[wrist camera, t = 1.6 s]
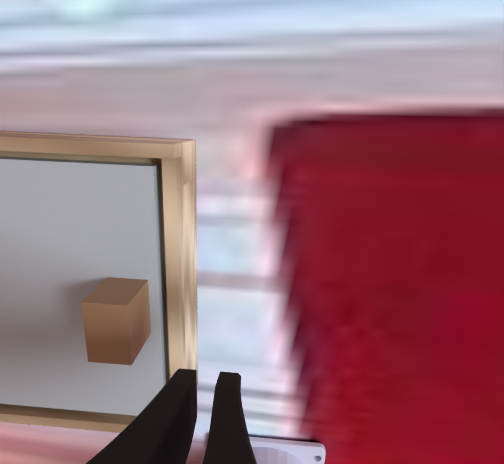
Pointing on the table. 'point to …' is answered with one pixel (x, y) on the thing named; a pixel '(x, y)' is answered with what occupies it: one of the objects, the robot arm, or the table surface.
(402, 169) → the table surface
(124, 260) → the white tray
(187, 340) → the birch box
